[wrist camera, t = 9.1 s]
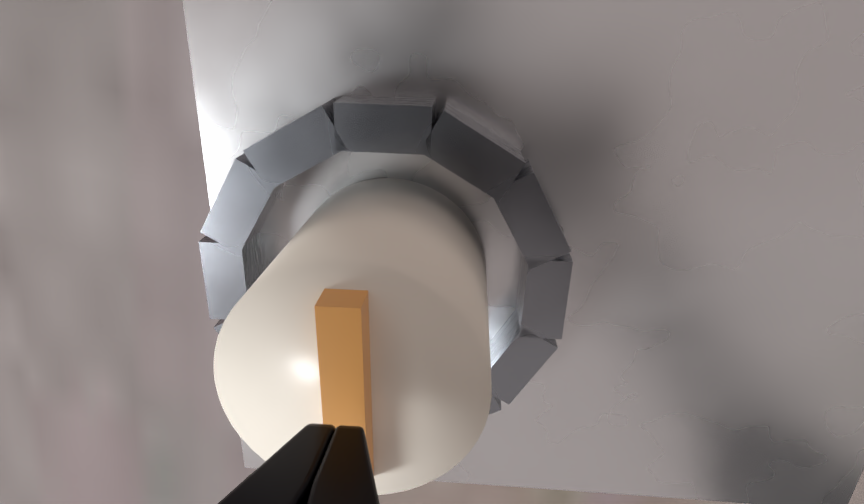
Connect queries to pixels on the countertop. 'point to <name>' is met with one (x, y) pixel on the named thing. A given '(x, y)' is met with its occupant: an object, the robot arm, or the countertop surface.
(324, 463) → the robot arm
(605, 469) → the hub plate
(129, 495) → the countertop surface
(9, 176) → the countertop surface
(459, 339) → the knob
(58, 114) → the countertop surface
